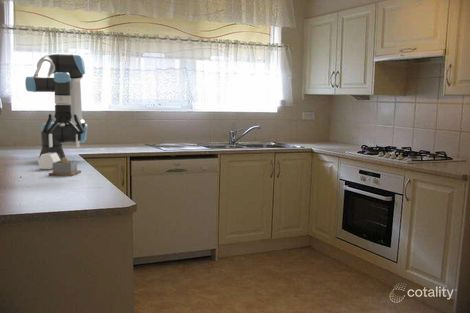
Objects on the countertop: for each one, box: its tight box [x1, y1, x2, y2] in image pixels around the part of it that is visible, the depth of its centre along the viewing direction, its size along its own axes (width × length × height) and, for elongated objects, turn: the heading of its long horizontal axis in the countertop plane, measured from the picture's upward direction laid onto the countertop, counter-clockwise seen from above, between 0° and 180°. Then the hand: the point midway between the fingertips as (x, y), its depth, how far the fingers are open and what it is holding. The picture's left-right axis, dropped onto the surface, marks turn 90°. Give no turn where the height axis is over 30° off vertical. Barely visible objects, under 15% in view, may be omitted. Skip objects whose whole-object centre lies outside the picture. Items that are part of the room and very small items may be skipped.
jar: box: [36, 152, 62, 170], centre depth 270 cm, size 9×8×12 cm
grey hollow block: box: [52, 160, 78, 173], centre depth 249 cm, size 9×9×5 cm
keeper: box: [48, 157, 82, 177], centre depth 249 cm, size 12×12×8 cm
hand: (64, 147), depth 249 cm, fingers open, 13 cm apart
